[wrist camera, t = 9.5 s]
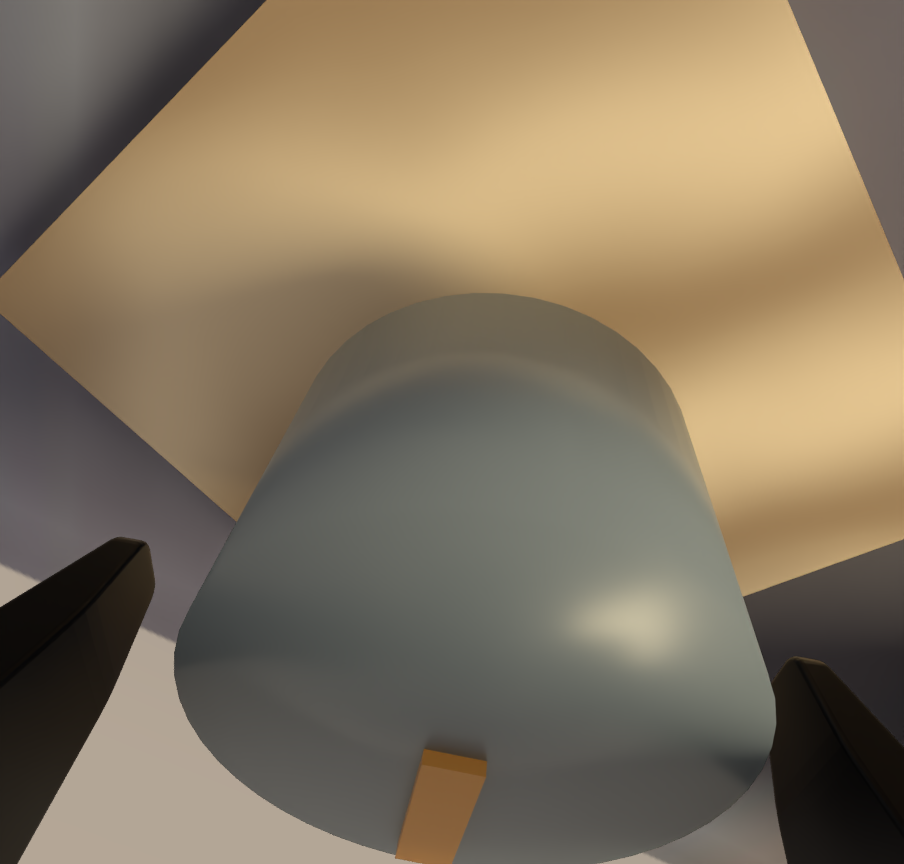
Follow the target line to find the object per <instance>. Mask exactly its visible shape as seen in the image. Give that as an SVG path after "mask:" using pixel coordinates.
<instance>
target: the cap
mask: <svg viewBox="0 0 904 864" xmlns="http://www.w3.org/2000/svg"><path fill="white" fill-rule="evenodd" d="M174 676H175V681H176V686H177V690H178V695H179V699H180V702H181V704H182V706H183V709H184V711H185V713H186V716H187V718H188V720H189V722H190V724H191V725H192V727H193V728H194V730H195V732H196V733H197V735H198V737H199V738H200V740H201V741H202V742H203V744H204V745H205V746H206V747H207V748H208V750H209V751H210V752H211V753H212V754H213V756H214V757H215V758H216V759H217V760H218V761H219V762H220V763H221V764H222V765H223V766H224V767H225V768H226V769H227V770H228V771H229V772H230V773H231V774H232V775H234V776H235V777H236V778H237V779H238V780H239V781H241V782H242V783H243V784H245V785H246V786H247V787H248V788H250V789H251V790H252V791H254V792H255V793H256V794H257V795H259V796H261V797H262V798H264V799H265V800H267V801H268V802H270V803H272V804H273V805H275V806H276V807H278V808H279V809H281V810H283V811H285V812H286V813H288V814H290V815H292V816H294V817H296V818H298V819H300V820H301V821H303V822H305V823H307V824H309V825H312V826H314V827H316V828H319V829H321V830H323V831H325V832H328V833H330V834H332V835H335V836H337V837H340V838H343V839H346V840H349V841H351V842H354V843H357V844H359V845H362V846H366V847H369V848H372V849H376V850H379V851H383V852H386V853H390V854H394V855H396V856H395V858H396V859H402V860H407V861H412V862H417V863H422V864H597V863H603V862H607V861H612V860H616V859H620V858H625V857H629V856H633V855H636V854H639V853H642V852H646V851H649V850H652V849H655V848H658V847H661V846H663V845H665V844H668V843H670V842H673V841H675V840H677V839H680V838H682V837H684V836H686V835H688V834H690V833H692V832H693V831H695V830H697V829H699V828H701V827H702V826H704V825H706V824H708V823H709V822H711V821H712V820H713V819H715V818H716V817H718V816H719V815H720V814H722V813H723V812H724V811H726V810H727V809H728V808H730V807H731V806H732V805H733V804H734V803H735V802H736V801H737V800H738V799H739V798H740V797H741V796H742V795H743V794H744V793H745V792H746V791H747V790H748V789H749V787H750V786H751V785H752V783H753V782H754V780H755V779H756V778H757V776H758V775H759V773H760V772H761V770H762V769H763V766H764V764H765V762H766V760H767V757H768V755H769V753H770V751H771V748H772V744H773V739H774V734H775V728H776V706H775V696H774V693H773V689H772V686H771V682H770V679H769V675H768V672H767V669H766V666H765V663H764V660H763V657H762V654H761V651H760V648H759V645H758V642H757V639H756V636H755V632H754V629H753V626H752V623H751V620H750V617H749V614H748V611H747V608H746V605H745V602H744V599H743V596H742V593H741V590H740V587H739V584H738V581H737V578H736V575H735V572H734V569H733V566H732V563H731V560H730V557H729V554H728V551H727V548H726V544H725V541H724V538H723V535H722V532H721V529H720V526H719V523H718V520H717V517H716V514H715V511H714V508H713V505H712V502H711V499H710V496H709V493H708V490H707V487H706V484H705V481H704V478H703V475H702V472H701V469H700V466H699V463H698V459H697V456H696V453H695V450H694V447H693V444H692V441H691V438H690V435H689V432H688V429H687V426H686V423H685V420H684V417H683V414H682V411H681V408H680V406H679V404H678V402H677V400H676V398H675V396H674V394H673V392H672V390H671V388H670V387H669V385H668V384H667V382H666V381H665V379H664V378H663V377H662V375H661V374H660V372H659V371H658V370H657V368H656V367H655V366H654V365H653V364H652V363H651V362H650V361H649V360H648V359H647V358H646V356H645V355H644V354H643V353H642V352H641V351H640V350H639V349H638V348H637V347H635V346H634V345H633V344H631V343H630V342H629V341H628V340H626V339H625V338H624V337H622V336H621V335H620V334H619V333H617V332H616V331H614V330H612V329H611V328H609V327H607V326H606V325H604V324H602V323H600V322H599V321H597V320H595V319H593V318H592V317H590V316H587V315H585V314H582V313H580V312H578V311H575V310H573V309H570V308H568V307H565V306H563V305H559V304H555V303H552V302H548V301H544V300H541V299H537V298H532V297H525V296H518V295H511V294H500V293H470V294H460V295H451V296H443V297H439V298H435V299H430V300H426V301H422V302H418V303H415V304H412V305H409V306H407V307H404V308H401V309H399V310H396V311H394V312H391V313H389V314H387V315H385V316H383V317H382V318H380V319H378V320H376V321H374V322H372V323H371V324H369V325H367V326H366V327H364V328H363V329H362V330H360V331H359V332H358V333H356V334H355V335H354V336H352V337H351V338H350V339H348V340H347V341H346V342H345V343H344V344H343V345H342V346H341V347H340V348H339V349H338V350H337V351H336V352H335V353H334V354H333V355H332V356H331V357H330V358H329V359H328V361H327V362H326V364H325V365H324V366H323V368H322V369H321V371H320V372H319V373H318V375H317V376H316V378H315V380H314V381H313V383H312V385H311V387H310V389H309V391H308V392H307V394H306V396H305V398H304V400H303V402H302V403H301V405H300V407H299V409H298V411H297V413H296V414H295V416H294V418H293V420H292V422H291V424H290V425H289V427H288V429H287V431H286V433H285V435H284V436H283V438H282V440H281V442H280V444H279V446H278V447H277V449H276V451H275V453H274V455H273V457H272V458H271V460H270V462H269V464H268V466H267V468H266V469H265V471H264V473H263V475H262V477H261V479H260V480H259V482H258V484H257V486H256V488H255V490H254V491H253V493H252V495H251V497H250V499H249V501H248V502H247V504H246V506H245V508H244V510H243V512H242V513H241V515H240V517H239V519H238V521H237V523H236V524H235V526H234V528H233V530H232V532H231V534H230V535H229V537H228V539H227V541H226V543H225V545H224V546H223V548H222V550H221V552H220V554H219V556H218V557H217V559H216V561H215V563H214V565H213V567H212V568H211V570H210V572H209V574H208V576H207V578H206V579H205V581H204V583H203V585H202V587H201V589H200V590H199V592H198V594H197V596H196V598H195V600H194V601H193V603H192V605H191V607H190V609H189V611H188V613H187V615H186V617H185V619H184V621H183V624H182V626H181V628H180V630H179V634H178V639H177V643H176V647H175V652H174Z"/></svg>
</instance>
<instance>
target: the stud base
mask: <svg viewBox="0 0 904 864" xmlns="http://www.w3.org/2000/svg"><path fill="white" fill-rule="evenodd" d="M470 293H500V294H511V295H518V296H525V297H532V298H537V299H541V300H544V301H548V302H552V303H555V304H559V305H563V306H565V307H568V308H570V309H573V310H575V311H578V312H580V313H582V314H585V315H587V316H590V317H592V318H593V319H595V320H597V321H599V322H600V323H602V324H604V325H606V326H607V327H609V328H611V329H612V330H614V331H616V332H617V333H619V334H620V335H621V336H622V337H624V338H625V339H626V340H628V341H629V342H630V343H631V344H633V345H634V346H635V347H637V348H638V349H639V350H640V351H641V352H642V353H643V354H644V355H645V356H646V358H647V359H648V360H649V361H650V362H651V363H652V364H653V365H654V366H655V367H656V368H657V370H658V371H659V372H660V374H661V375H662V377H663V378H664V379H665V381H666V382H667V384H668V385H669V387H670V388H671V390H672V392H673V394H674V396H675V398H676V400H677V402H678V404H679V406H680V408H681V411H682V414H683V417H684V420H685V423H686V426H687V429H688V432H689V435H690V438H691V441H692V444H693V447H694V450H695V453H696V456H697V459H698V463H699V466H700V469H701V472H702V475H703V478H704V481H705V484H706V487H707V490H708V493H709V496H710V499H711V502H712V505H713V508H714V511H715V514H716V517H717V520H718V523H719V526H720V529H721V532H722V535H723V538H724V541H725V544H726V548H727V551H728V554H729V557H730V560H731V563H732V566H733V569H734V572H735V575H736V578H737V581H738V584H739V587H740V590H741V593H742V596H746V595H749V594H752V593H754V592H757V591H760V590H763V589H765V588H768V587H771V586H774V585H777V584H779V583H782V582H785V581H788V580H791V579H793V578H796V577H799V576H802V575H805V574H807V573H810V572H813V571H816V570H819V569H821V568H824V567H827V566H830V565H833V564H835V563H838V562H841V561H844V560H847V559H849V558H852V557H855V556H858V555H861V554H863V553H866V552H869V551H872V550H875V549H877V548H880V547H883V546H886V545H889V544H891V543H894V542H897V541H900V540H903V539H904V279H903V277H902V274H901V272H900V269H899V267H898V265H897V262H896V260H895V257H894V255H893V253H892V250H891V248H890V245H889V243H888V241H887V238H886V236H885V233H884V231H883V229H882V226H881V224H880V221H879V219H878V217H877V214H876V212H875V209H874V207H873V205H872V202H871V200H870V197H869V195H868V193H867V190H866V188H865V185H864V183H863V181H862V178H861V176H860V173H859V171H858V169H857V166H856V164H855V161H854V159H853V157H852V154H851V152H850V149H849V147H848V144H847V142H846V140H845V137H844V135H843V132H842V130H841V128H840V125H839V123H838V120H837V118H836V116H835V113H834V111H833V108H832V106H831V104H830V101H829V99H828V96H827V94H826V92H825V89H824V87H823V84H822V82H821V80H820V77H819V75H818V72H817V70H816V68H815V65H814V63H813V60H812V58H811V56H810V53H809V51H808V48H807V46H806V44H805V41H804V39H803V36H802V34H801V32H800V29H799V27H798V24H797V22H796V20H795V17H794V15H793V12H792V10H791V8H790V5H789V3H788V0H266V1H265V2H264V3H263V4H262V6H261V7H260V8H259V9H258V10H257V11H256V12H255V13H254V14H253V15H252V16H251V17H250V18H249V19H248V20H247V21H246V22H245V23H244V24H243V25H242V26H241V27H240V28H239V30H238V31H237V32H236V33H235V34H234V35H233V36H232V37H231V38H230V39H229V40H228V41H227V42H226V43H225V44H224V45H223V46H222V47H221V48H220V49H219V50H218V51H217V52H216V54H215V55H214V56H213V57H212V58H211V59H210V60H209V61H208V62H207V63H206V64H205V65H204V66H203V67H202V68H201V69H200V70H199V71H198V72H197V73H196V74H195V75H194V76H193V78H192V79H191V80H190V81H189V82H188V83H187V84H186V85H185V86H184V87H183V88H182V89H181V90H180V91H179V92H178V93H177V94H176V95H175V96H174V97H173V98H172V99H171V101H170V102H169V103H168V104H167V105H166V106H165V107H164V108H163V109H162V110H161V111H160V112H159V113H158V114H157V115H156V116H155V117H154V118H153V119H152V120H151V121H150V122H149V123H148V125H147V126H146V127H145V128H144V129H143V130H142V131H141V132H140V133H139V134H138V135H137V136H136V137H135V138H134V139H133V140H132V141H131V142H130V143H129V144H128V145H127V146H126V147H125V149H124V150H123V151H122V152H121V153H120V154H119V155H118V156H117V157H116V158H115V159H114V160H113V161H112V162H111V163H110V164H109V165H108V166H107V167H106V168H105V169H104V170H103V171H102V173H101V174H100V175H99V176H98V177H97V178H96V179H95V180H94V181H93V182H92V183H91V184H90V185H89V186H88V187H87V188H86V189H85V190H84V191H83V192H82V193H81V194H80V195H79V197H78V198H77V199H76V200H75V201H74V202H73V203H72V204H71V205H70V206H69V207H68V208H67V209H66V210H65V211H64V212H63V213H62V214H61V215H60V216H59V217H58V218H57V220H56V221H55V222H54V223H53V224H52V225H51V226H50V227H49V228H48V229H47V230H46V231H45V232H44V233H43V234H42V235H41V236H40V237H39V238H38V239H37V240H36V241H35V242H34V244H33V245H32V246H31V247H30V248H29V249H28V250H27V251H26V252H25V253H24V254H23V255H22V256H21V257H20V258H19V259H18V260H17V261H16V262H15V263H14V264H13V265H12V266H11V268H10V269H9V270H8V271H7V272H6V273H5V274H4V275H3V276H2V277H1V278H0V314H1V315H2V316H4V317H5V318H6V319H7V320H8V321H9V322H10V323H12V324H13V325H14V326H15V327H16V328H17V329H18V330H19V331H21V332H22V333H23V334H24V335H25V336H26V337H27V338H29V339H30V340H31V341H32V342H33V343H34V344H35V345H37V346H38V347H39V348H40V349H41V350H42V351H43V352H44V353H46V354H47V355H48V356H49V357H50V358H51V359H52V360H54V361H55V362H56V363H57V364H58V365H59V366H60V367H61V368H63V369H64V370H65V371H66V372H67V373H68V374H69V375H71V376H72V377H73V378H74V379H75V380H76V381H77V382H78V383H80V384H81V385H82V386H83V387H84V388H85V389H86V390H88V391H89V392H90V393H91V394H92V395H93V396H94V397H96V398H97V399H98V400H99V401H100V402H101V403H102V404H103V405H105V406H106V407H107V408H108V409H109V410H110V411H111V412H113V413H114V414H115V415H116V416H117V417H118V418H119V419H120V420H122V421H123V422H124V423H125V424H126V425H127V426H128V427H130V428H131V429H132V430H133V431H134V432H135V433H136V434H137V435H139V436H140V437H141V438H142V439H143V440H144V441H145V442H147V443H148V444H149V445H150V446H151V447H152V448H153V449H155V450H156V451H157V452H158V453H159V454H160V455H161V456H162V457H164V458H165V459H166V460H167V461H168V462H169V463H170V464H172V465H173V466H174V467H175V468H176V469H177V470H178V471H179V472H181V473H182V474H183V475H184V476H185V477H186V478H187V479H189V480H190V481H191V482H192V483H193V484H194V485H195V486H196V487H198V488H199V489H200V490H201V491H202V492H203V493H204V494H206V495H207V496H208V497H209V498H210V499H211V500H212V501H214V502H215V503H216V504H217V505H218V506H219V507H220V508H221V509H223V510H224V511H225V512H226V513H227V514H228V515H229V516H231V517H232V518H233V519H234V520H235V521H236V522H237V521H238V519H239V517H240V515H241V513H242V512H243V510H244V508H245V506H246V504H247V502H248V501H249V499H250V497H251V495H252V493H253V491H254V490H255V488H256V486H257V484H258V482H259V480H260V479H261V477H262V475H263V473H264V471H265V469H266V468H267V466H268V464H269V462H270V460H271V458H272V457H273V455H274V453H275V451H276V449H277V447H278V446H279V444H280V442H281V440H282V438H283V436H284V435H285V433H286V431H287V429H288V427H289V425H290V424H291V422H292V420H293V418H294V416H295V414H296V413H297V411H298V409H299V407H300V405H301V403H302V402H303V400H304V398H305V396H306V394H307V392H308V391H309V389H310V387H311V385H312V383H313V381H314V380H315V378H316V376H317V375H318V373H319V372H320V371H321V369H322V368H323V366H324V365H325V364H326V362H327V361H328V359H329V358H330V357H331V356H332V355H333V354H334V353H335V352H336V351H337V350H338V349H339V348H340V347H341V346H342V345H343V344H344V343H345V342H346V341H347V340H348V339H350V338H351V337H352V336H354V335H355V334H356V333H358V332H359V331H360V330H362V329H363V328H364V327H366V326H367V325H369V324H371V323H372V322H374V321H376V320H378V319H380V318H382V317H383V316H385V315H387V314H389V313H391V312H394V311H396V310H399V309H401V308H404V307H407V306H409V305H412V304H415V303H418V302H422V301H426V300H430V299H435V298H439V297H443V296H451V295H460V294H470Z"/></svg>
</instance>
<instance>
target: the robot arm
mask: <svg viewBox="0 0 904 864" xmlns="http://www.w3.org/2000/svg"><path fill="white" fill-rule="evenodd" d="M154 588H155V578H154V572H153V566H152V560H151V554H150V549H149V546H148V544H147V543H146V542H144V541H142V540H136V539H130V538H125V537H117V538H114V539H111V540H110V541H108V542H106V543H105V544H103V545H101V546H100V547H98V548H96V549H95V550H93V551H92V552H90V553H88V554H87V555H85V556H83V557H82V558H80V559H78V560H77V561H75V562H74V563H72V564H70V565H69V566H67V567H65V568H64V569H62V570H60V571H59V572H57V573H55V574H54V575H52V576H51V577H49V578H47V579H46V580H44V581H42V582H41V583H39V584H37V585H36V586H34V587H33V588H31V589H29V590H28V591H26V592H24V593H23V594H21V595H19V596H18V597H16V598H15V599H13V600H11V601H10V602H8V603H6V604H5V605H3V606H2V607H0V864H17V863H18V862H19V860H20V858H21V856H22V855H23V853H24V851H25V849H26V847H27V846H28V844H29V842H30V840H31V838H32V836H33V835H34V833H35V831H36V829H37V828H38V826H39V824H40V822H41V821H42V819H43V817H44V815H45V813H46V811H47V810H48V808H49V806H50V804H51V803H52V801H53V799H54V797H55V795H56V794H57V792H58V790H59V788H60V786H61V785H62V783H63V781H64V779H65V777H66V776H67V774H68V772H69V770H70V769H71V767H72V765H73V763H74V761H75V759H76V758H77V756H78V754H79V752H80V751H81V749H82V747H83V745H84V743H85V742H86V740H87V738H88V736H89V734H90V733H91V731H92V729H93V727H94V725H95V723H96V722H97V720H98V718H99V716H100V715H101V713H102V711H103V709H104V707H105V705H106V703H107V701H108V699H109V697H110V695H111V693H112V691H113V688H114V686H115V684H116V682H117V679H118V677H119V675H120V672H121V670H122V668H123V665H124V663H125V660H126V658H127V656H128V653H129V651H130V649H131V646H132V644H133V642H134V639H135V637H136V635H137V632H138V630H139V628H140V625H141V623H142V620H143V618H144V616H145V613H146V611H147V609H148V606H149V604H150V602H151V599H152V597H153V593H154ZM771 686H772V689H773V693H774V696H775V706H776V728H775V734H774V739H773V744H772V748H771V751H770V753H769V754H770V762H771V771H772V779H773V787H774V796H775V803H776V810H777V817H778V822H779V827H780V832H781V837H782V841H783V846H784V850H785V854H786V859H787V863H788V864H904V747H903V746H902V745H901V744H900V743H899V742H898V740H897V739H896V738H895V737H894V736H893V735H892V734H891V733H890V732H889V731H888V730H887V729H886V728H885V727H884V725H883V724H882V723H881V722H880V721H879V720H878V719H877V718H876V717H875V716H874V715H873V714H872V713H871V711H870V710H869V709H868V708H867V707H866V706H865V705H864V704H863V703H862V702H861V701H860V700H859V699H858V698H857V696H856V695H855V694H854V693H853V692H852V691H851V690H850V689H849V688H848V687H847V686H846V685H845V684H844V683H843V681H842V680H841V679H840V678H839V677H838V676H837V675H836V674H835V673H834V672H833V671H832V670H831V669H830V668H829V667H828V666H827V665H826V664H825V663H823V662H821V661H819V660H814V659H808V658H803V657H792V658H790V659H788V660H787V661H786V662H785V664H784V665H783V667H782V668H781V670H780V671H779V672H778V674H777V675H776V677H775V678H774V680H773V681H772V682H771Z"/></svg>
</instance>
